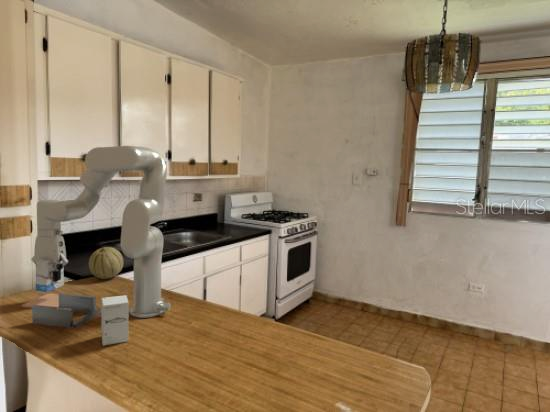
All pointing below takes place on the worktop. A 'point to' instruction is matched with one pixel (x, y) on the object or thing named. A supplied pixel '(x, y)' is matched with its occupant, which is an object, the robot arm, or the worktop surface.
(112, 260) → the cantaloupe
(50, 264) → the ink box
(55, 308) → the grey frame rack
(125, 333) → the supplement box
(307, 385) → the worktop surface
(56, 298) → the plate
